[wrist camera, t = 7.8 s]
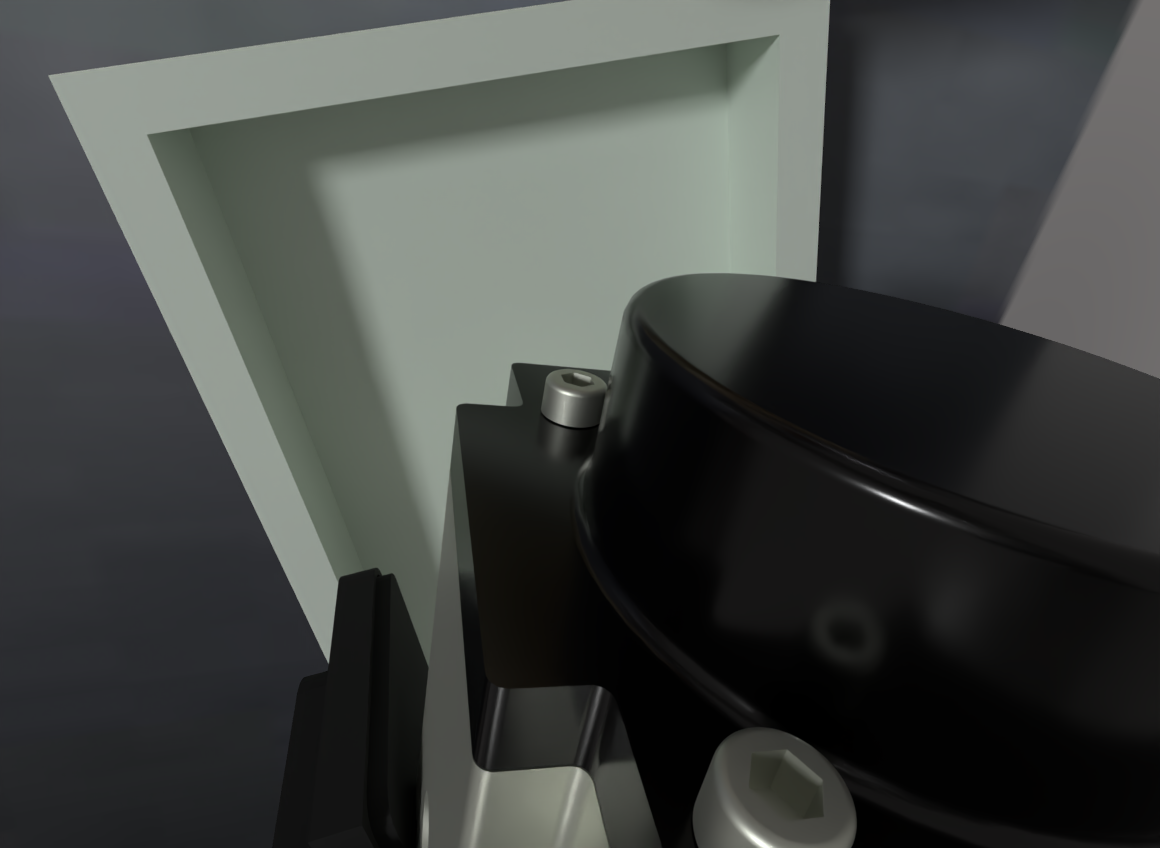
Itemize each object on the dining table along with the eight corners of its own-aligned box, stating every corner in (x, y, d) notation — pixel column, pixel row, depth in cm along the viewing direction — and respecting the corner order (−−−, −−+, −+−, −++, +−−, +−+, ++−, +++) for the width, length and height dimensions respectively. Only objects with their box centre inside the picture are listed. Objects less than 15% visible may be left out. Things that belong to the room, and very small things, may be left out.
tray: (122, 73, 10) (48, 76, 8) (753, -17, 12) (831, -37, 10) (404, 735, 18) (404, 823, 16) (752, 633, 20) (795, 700, 18)
